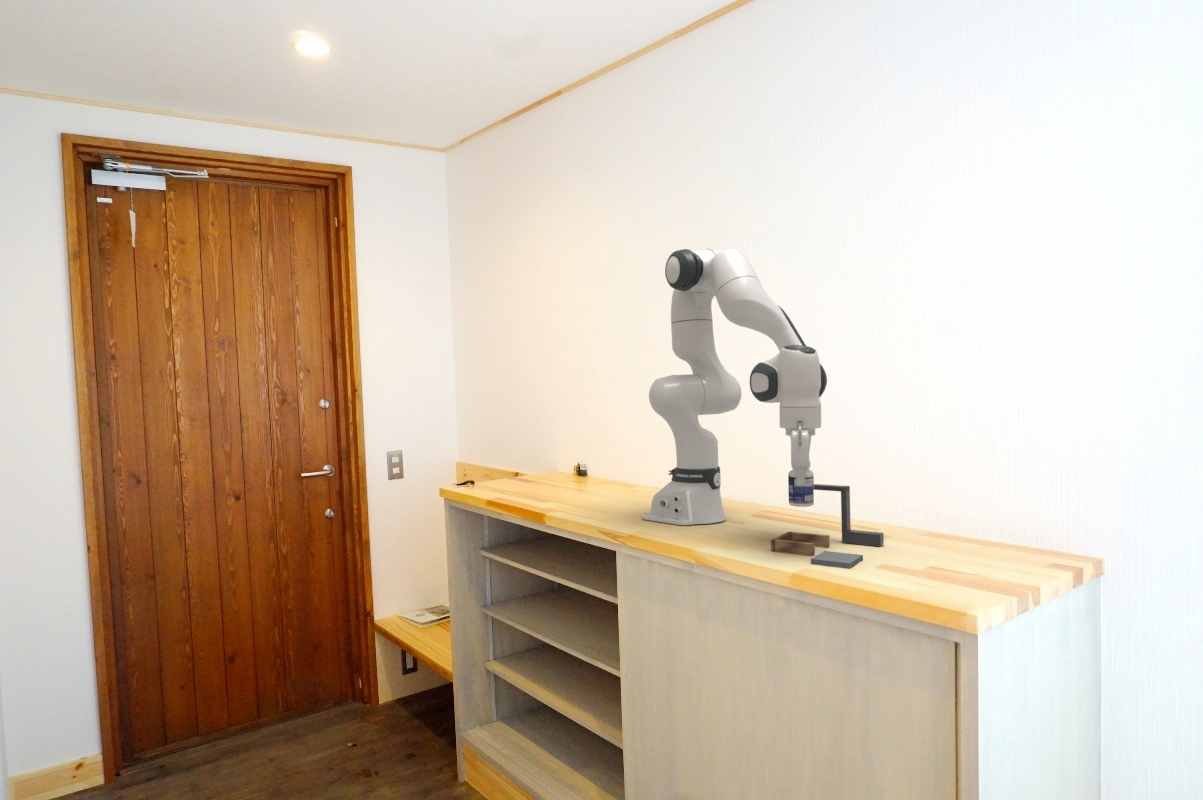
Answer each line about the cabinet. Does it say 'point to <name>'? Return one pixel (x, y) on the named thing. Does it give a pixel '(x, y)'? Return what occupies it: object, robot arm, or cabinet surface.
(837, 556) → the mat
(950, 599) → the cabinet surface
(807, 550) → the cradle
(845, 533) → the gate
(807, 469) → the pill bottle
